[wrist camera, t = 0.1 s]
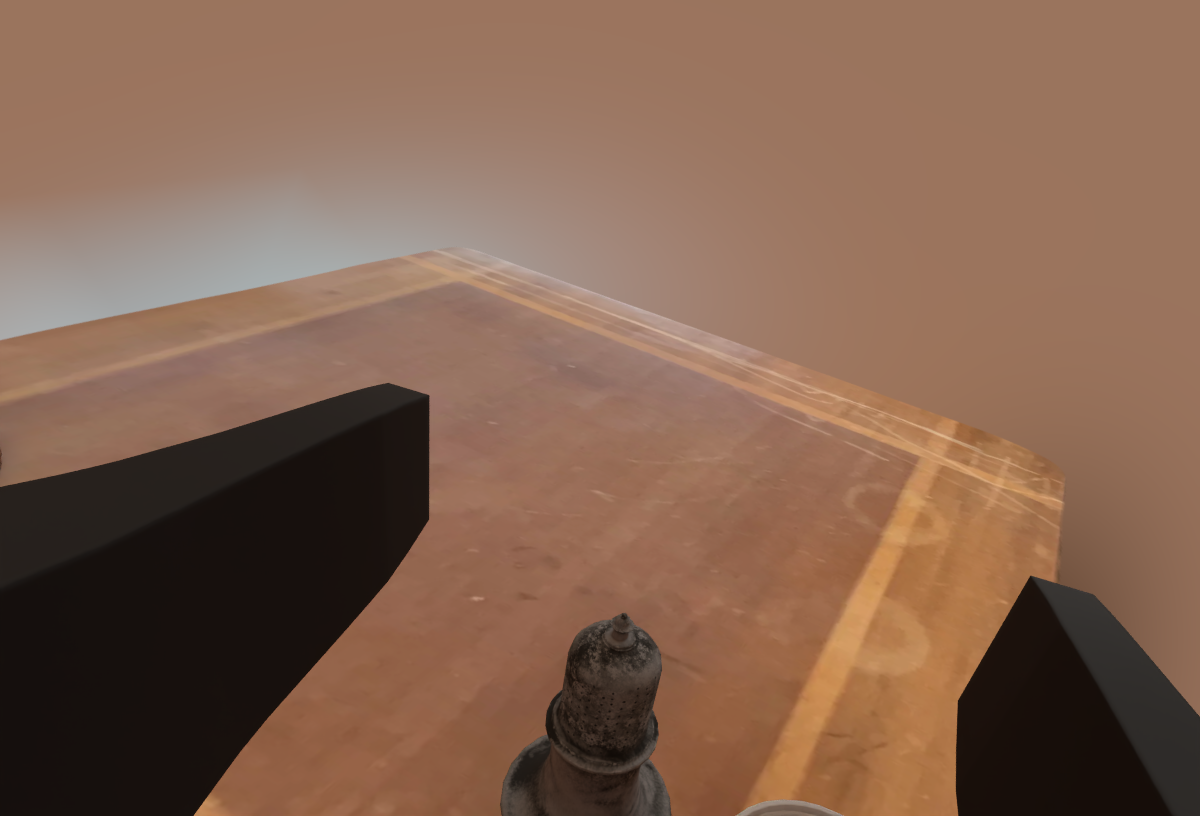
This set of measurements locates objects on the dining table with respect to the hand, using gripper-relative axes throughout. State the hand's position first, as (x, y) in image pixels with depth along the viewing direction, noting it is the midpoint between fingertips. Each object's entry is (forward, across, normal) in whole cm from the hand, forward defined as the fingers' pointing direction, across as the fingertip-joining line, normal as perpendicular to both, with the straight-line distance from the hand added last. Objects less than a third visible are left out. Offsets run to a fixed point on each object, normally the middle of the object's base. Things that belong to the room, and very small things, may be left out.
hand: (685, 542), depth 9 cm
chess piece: (+7, +2, +22) cm, 23 cm away
